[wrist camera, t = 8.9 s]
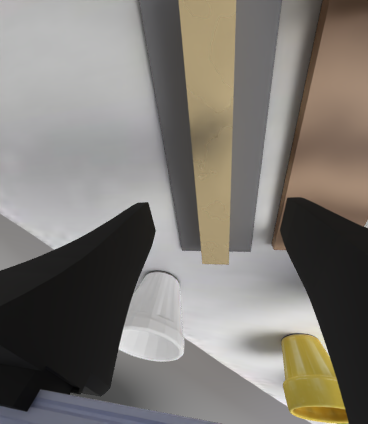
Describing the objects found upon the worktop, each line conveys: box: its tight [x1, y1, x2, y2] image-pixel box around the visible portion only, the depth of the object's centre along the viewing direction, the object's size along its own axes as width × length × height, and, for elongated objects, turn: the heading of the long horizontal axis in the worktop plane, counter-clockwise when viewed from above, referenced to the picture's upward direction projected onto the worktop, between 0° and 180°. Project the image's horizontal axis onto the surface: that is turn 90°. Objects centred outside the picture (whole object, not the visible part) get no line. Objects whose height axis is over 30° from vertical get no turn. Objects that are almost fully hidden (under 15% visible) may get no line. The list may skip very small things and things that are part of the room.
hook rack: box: [272, 0, 368, 250], centre depth 13 cm, size 22×8×6 cm, turn 7°
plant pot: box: [281, 334, 349, 423], centre depth 30 cm, size 10×10×10 cm
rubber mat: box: [139, 0, 282, 252], centre depth 17 cm, size 24×9×1 cm, turn 7°
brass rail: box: [179, 0, 236, 265], centre depth 16 cm, size 22×3×3 cm, turn 7°
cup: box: [118, 271, 184, 361], centre depth 26 cm, size 10×10×9 cm
